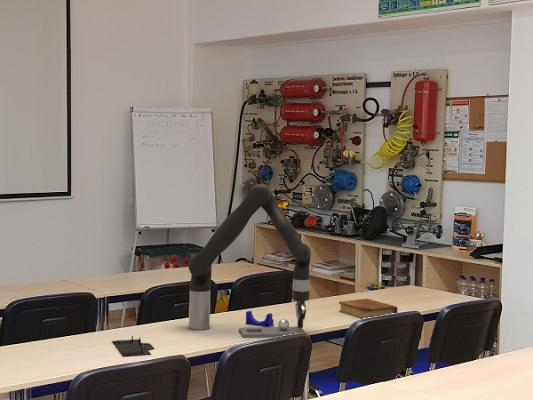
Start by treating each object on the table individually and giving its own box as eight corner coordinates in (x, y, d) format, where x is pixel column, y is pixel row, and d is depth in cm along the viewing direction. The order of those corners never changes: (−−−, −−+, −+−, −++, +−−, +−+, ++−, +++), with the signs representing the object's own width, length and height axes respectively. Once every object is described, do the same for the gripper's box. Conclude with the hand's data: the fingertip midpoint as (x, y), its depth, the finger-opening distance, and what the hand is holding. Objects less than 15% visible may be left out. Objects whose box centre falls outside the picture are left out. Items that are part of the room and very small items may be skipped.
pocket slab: (242, 337, 359) (242, 334, 359) (238, 330, 371) (238, 327, 371) (306, 336, 363) (306, 333, 363) (300, 329, 376) (300, 326, 376)
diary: (397, 318, 407) (397, 306, 406) (366, 321, 397) (367, 309, 396) (368, 309, 426) (368, 298, 426) (338, 312, 417) (338, 301, 416)
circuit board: (111, 342, 348) (111, 335, 348) (145, 340, 353) (145, 333, 353) (123, 358, 325) (123, 350, 324) (159, 355, 330) (159, 348, 330)
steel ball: (278, 331, 365) (279, 320, 365) (276, 328, 370) (277, 317, 370) (290, 331, 366) (290, 320, 366) (287, 328, 371) (288, 317, 370)
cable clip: (273, 325, 384) (273, 312, 383) (269, 327, 380) (269, 314, 379) (250, 322, 389) (250, 310, 388) (245, 324, 385) (246, 311, 384)
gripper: (289, 286, 374) (289, 324, 375) (295, 292, 361) (294, 331, 362) (306, 286, 375) (305, 324, 376) (312, 291, 362) (311, 331, 363)
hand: (300, 327), depth 369 cm, fingers closed
